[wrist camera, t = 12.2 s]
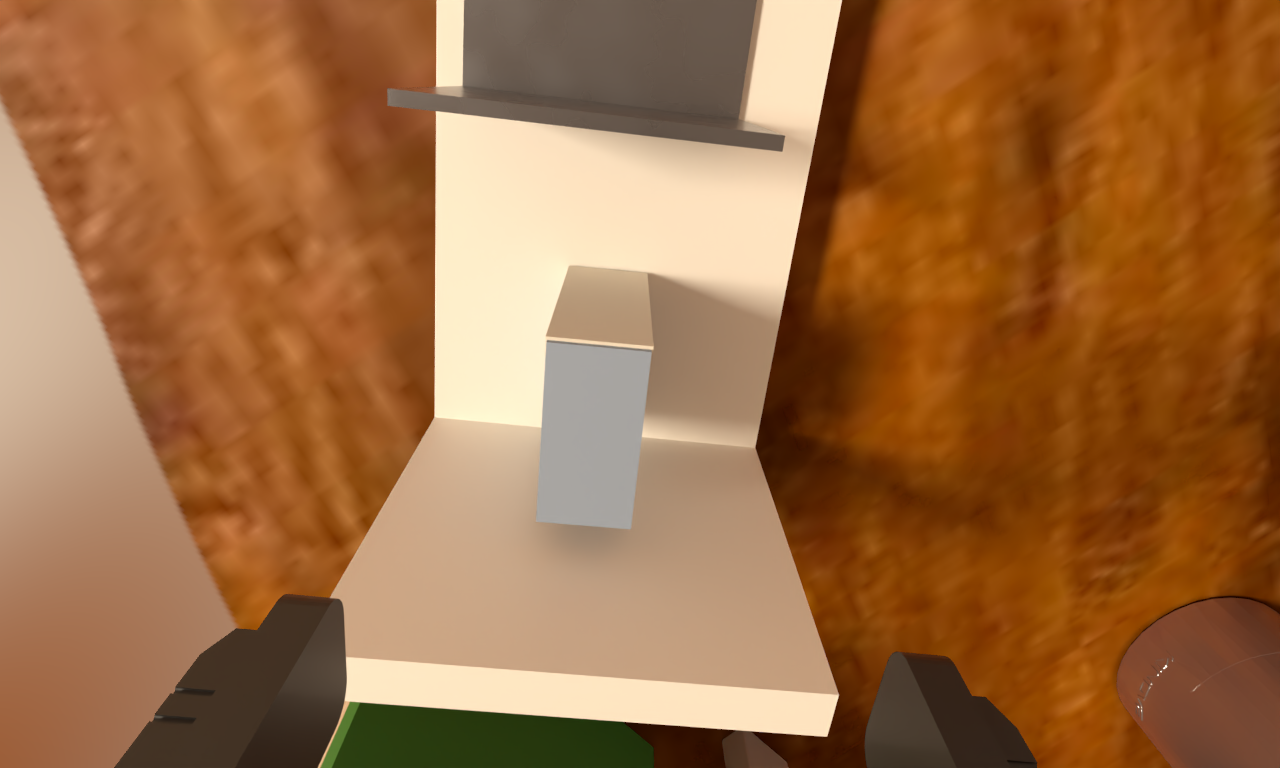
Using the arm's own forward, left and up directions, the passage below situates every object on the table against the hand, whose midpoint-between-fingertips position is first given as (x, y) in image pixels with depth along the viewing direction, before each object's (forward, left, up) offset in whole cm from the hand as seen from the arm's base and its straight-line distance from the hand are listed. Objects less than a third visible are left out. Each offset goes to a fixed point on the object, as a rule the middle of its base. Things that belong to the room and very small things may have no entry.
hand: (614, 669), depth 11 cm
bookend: (+2, -9, -20) cm, 22 cm away
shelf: (+1, -2, -22) cm, 22 cm away
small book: (+1, +2, -20) cm, 20 cm away
